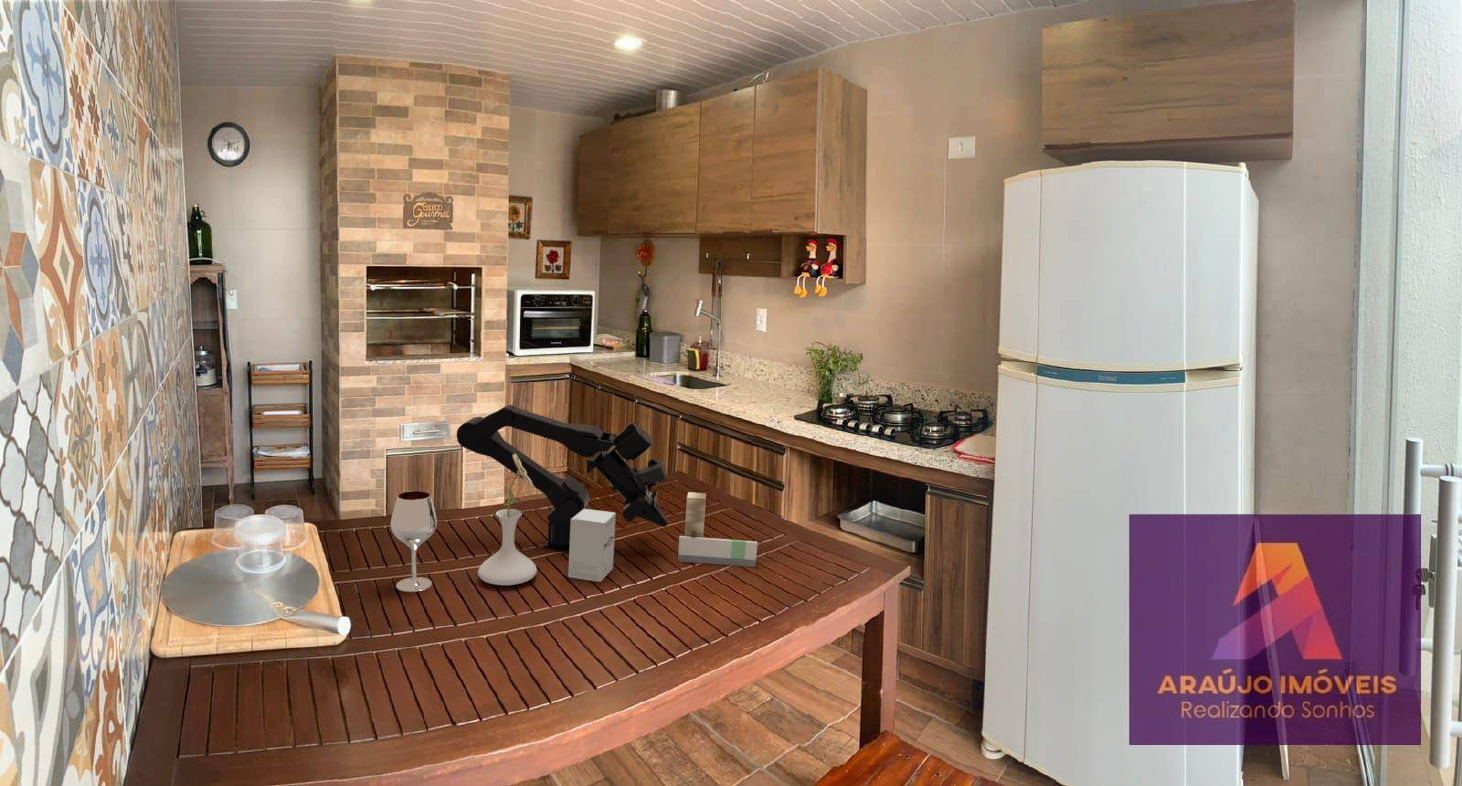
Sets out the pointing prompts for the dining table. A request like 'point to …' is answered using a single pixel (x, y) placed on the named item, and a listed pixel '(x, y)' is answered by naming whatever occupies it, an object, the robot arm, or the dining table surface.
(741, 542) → the board
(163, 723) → the dining table surface
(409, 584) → the wineglass
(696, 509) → the beige brown box
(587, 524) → the supplement box
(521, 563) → the flower in vase
